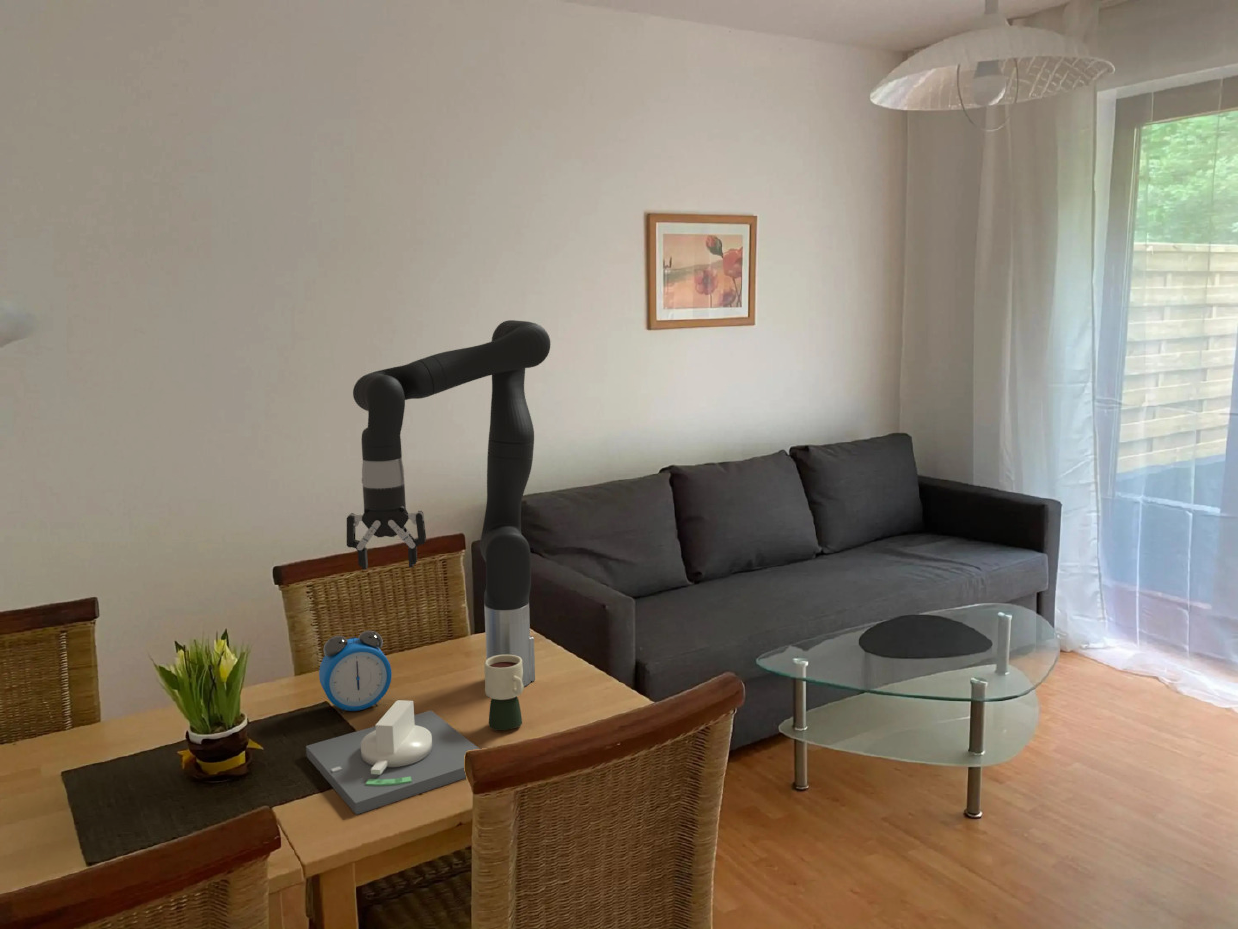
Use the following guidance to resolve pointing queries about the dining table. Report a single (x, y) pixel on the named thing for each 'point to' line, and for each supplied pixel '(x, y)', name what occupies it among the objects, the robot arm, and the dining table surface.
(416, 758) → the dial
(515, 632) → the robot arm
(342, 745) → the dial board
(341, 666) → the alarm clock
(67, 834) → the dining table surface
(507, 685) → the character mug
